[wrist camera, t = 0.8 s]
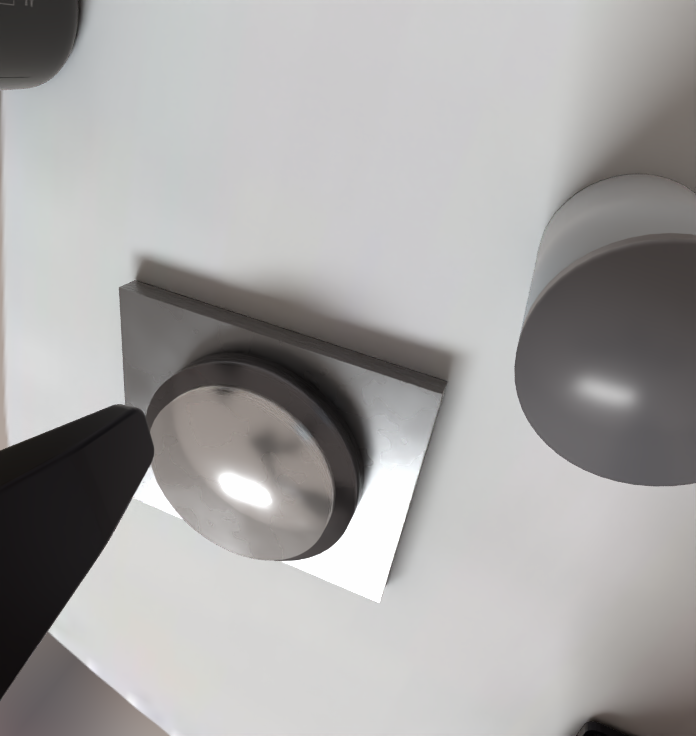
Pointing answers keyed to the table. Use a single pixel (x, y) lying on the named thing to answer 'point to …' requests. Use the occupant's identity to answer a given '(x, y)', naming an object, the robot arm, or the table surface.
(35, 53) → the supplement bottle
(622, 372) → the knob
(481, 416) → the table surface
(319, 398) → the base
